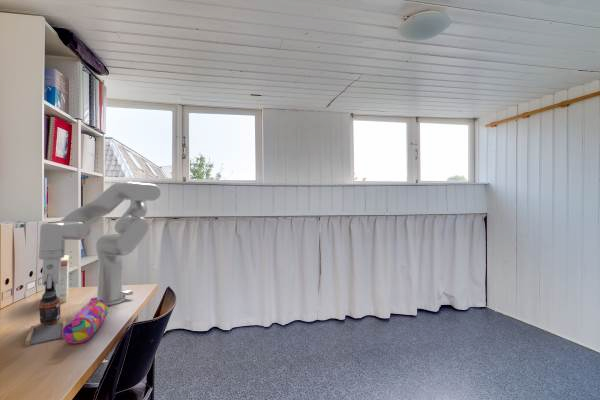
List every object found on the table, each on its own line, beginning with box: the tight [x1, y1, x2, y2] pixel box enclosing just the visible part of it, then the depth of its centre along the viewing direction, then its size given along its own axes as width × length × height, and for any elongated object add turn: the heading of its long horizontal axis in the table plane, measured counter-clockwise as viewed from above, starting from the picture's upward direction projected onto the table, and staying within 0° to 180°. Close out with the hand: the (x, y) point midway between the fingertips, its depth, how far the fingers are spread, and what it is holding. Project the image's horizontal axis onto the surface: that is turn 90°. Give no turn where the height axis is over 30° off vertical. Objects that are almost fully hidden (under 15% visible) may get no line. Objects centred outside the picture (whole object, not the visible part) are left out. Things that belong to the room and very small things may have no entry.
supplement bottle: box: [38, 292, 61, 326], centre depth 108 cm, size 6×6×11 cm
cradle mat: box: [24, 319, 68, 347], centre depth 100 cm, size 10×14×2 cm
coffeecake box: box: [55, 254, 70, 304], centre depth 135 cm, size 15×7×20 cm, turn 36°
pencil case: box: [62, 296, 109, 345], centre depth 103 cm, size 22×9×9 cm, turn 24°
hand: (49, 301), depth 111 cm, fingers closed
